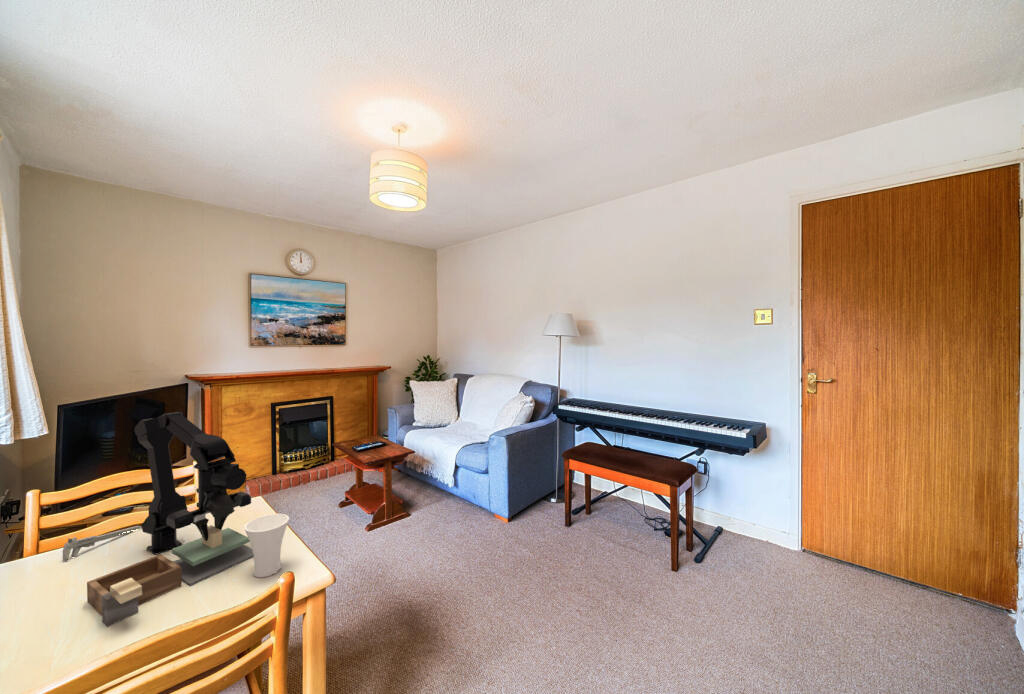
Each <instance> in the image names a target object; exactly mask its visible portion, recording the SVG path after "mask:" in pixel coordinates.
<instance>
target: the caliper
mask: <svg viewBox="0 0 1024 694" xmlns="http://www.w3.org/2000/svg"><path fill="white" fill-rule="evenodd" d="M140 528H141V529H142V527H141V525H136V526H131V527H128V528H127V527H126V528H123V529H119V530H115V531H112V532H111V531H110V532H108V533H105V534H102V535H101V534H100V535H92V536H87V537H84V538H80V539H77V538H78V536H77V537H76V536H73V538H68V540H67V542H66V543H64V545H63V549H62V561H63V562H68V561H69V557H70V558H71V557H76V558H77V556H78V554H79V552H80V551H81V549H82V548H89V547H93V546H95V544H96V543H98V542H101V541H106V540H109V539H112V538H117V537H120V536H124V535H127V534H126V533H127V531H130V532H132V533H134V532H133V531H131V530H136V529H139V530H140ZM123 532H126V533H123ZM122 533H123V534H122ZM119 534H120V535H119ZM71 551H72V552H71ZM70 554H71V555H70ZM67 560H68V561H67Z"/></svg>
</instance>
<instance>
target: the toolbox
mask: <svg viewBox="0 0 1024 694" xmlns="http://www.w3.org/2000/svg"><path fill="white" fill-rule="evenodd" d="M173 561H174V560H171V559H169V557H166V556H164V555H163V554H162V553H159V554H156V555H154V556H153V557H149V558H147V559H144V560H141V561H139V562H136V563H134V564H131V565H128V566H126V567H124V568H120V569H117V570H116V571H112V572H109V573H108V574H105V575H102V576H99V577H96V578H94V579H92V580H89V581H87V582H86V593H87V594H86V597H87V604H88V605H89V606H91V607H92V608H93V610H95V611H96V612H97V613H98V614H99V616H101V617H102V618H101V622H102V623H103V624H104V625H105V626H106V627H110V626H113V625H114V624H117V623H119V622H120V621H123V620H125V619H127V618H129V617H132V616H133V615H136V614H138V613H139V606H140V605H143V604H145V603H147V602H150V601H151V600H154V599H156V598H158V597H160V596H162V595H165V594H167V593H169V592H171V591H172V592H173V590H176V589H178V588H181V587H182V582H183V581H181V566H179V565H177V564H176V563H174V562H173ZM129 578H132V579H133V580H135V581H136V582H137V583H139V584H140V585H141V586H142V595H140V596H138V597H136V598H133V599H131V600H129V601H126V602H124V603H122V604H120V603H119V602H118V601H117V600H116V599H115V598H113V597H112V596H111V595H110V586H112V585H114V584H117V583H119V582H122V581H124V580H127V579H129Z"/></svg>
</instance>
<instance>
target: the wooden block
mask: <svg viewBox="0 0 1024 694" xmlns="http://www.w3.org/2000/svg"><path fill="white" fill-rule="evenodd" d="M110 595H111V596H112V597H113V598H115V599H116V600H117V601H118V602H119V603H120V604H122V603H124V602H126V601H129V600H131V599H133V598H136V597H138V596H140V595H142V586H141V585H140V584H139V583H137V582H136V581H135V580H133V579H132V578H129V579H127V580H124V581H122V582H119V583H117V584H114V585H112V586H110Z"/></svg>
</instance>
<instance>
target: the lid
mask: <svg viewBox="0 0 1024 694" xmlns="http://www.w3.org/2000/svg"><path fill="white" fill-rule="evenodd" d="M207 527H208V541H205V540H204V538H203V537H202V536H201V537H200V538H198V539H195V540H192V541H190V542H187V543H185V544H181V545H179V546H177V547H174V548H171V554H173V555H174V556H176V557H177V558H178V559H182V560H184V561H185V562H187V563H188V564H190V565H191V566H195V565H197V564H200V563H202V562H204V561H207V560H209V559H211V558H214V557H216V556H218V555H221V554H223V553H225V552H228V551H230V550H232V549H235V548H237V547H240V546H242V545H246V544H249V543H250V541H249V539H248V536H247V535H244V534H242V533H240V532H238V531H236V530H234V529H231V528H230V527H226V528H224V529H222V530H220V529H218V528H216V527H215V525H207Z"/></svg>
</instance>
